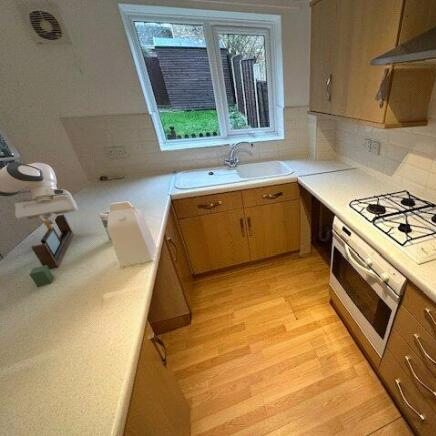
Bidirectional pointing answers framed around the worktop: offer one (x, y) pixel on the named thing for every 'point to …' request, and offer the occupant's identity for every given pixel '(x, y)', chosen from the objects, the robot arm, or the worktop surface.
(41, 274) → the block
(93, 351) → the worktop surface
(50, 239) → the window pane
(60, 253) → the window frame
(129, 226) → the milk
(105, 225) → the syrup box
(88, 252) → the worktop surface
